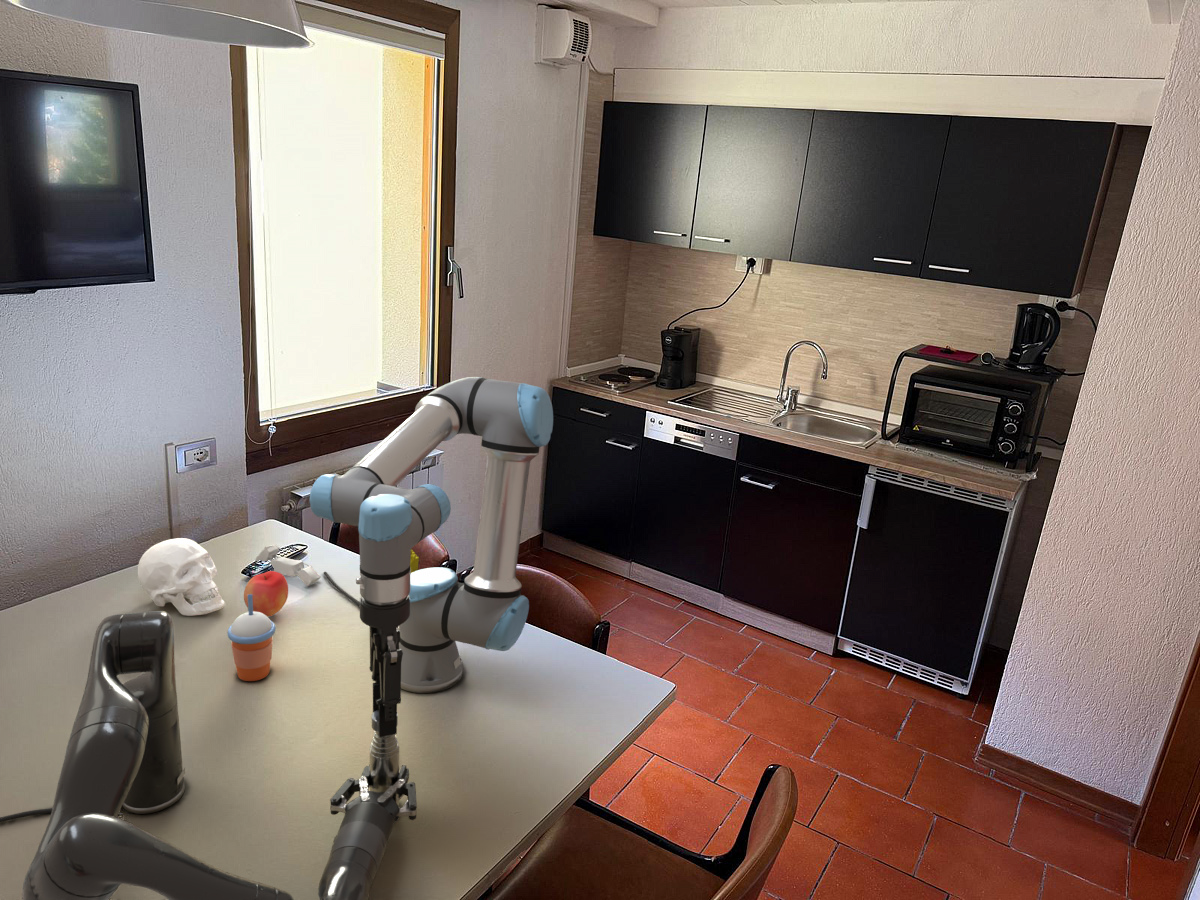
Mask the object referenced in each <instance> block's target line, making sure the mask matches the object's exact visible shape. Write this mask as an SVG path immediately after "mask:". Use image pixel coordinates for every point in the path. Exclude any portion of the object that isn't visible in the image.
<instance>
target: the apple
mask: <svg viewBox="0 0 1200 900" xmlns="http://www.w3.org/2000/svg"><path fill="white" fill-rule="evenodd" d="M249 594H252V598H253V611H255V612H260V613H263V614H265V615H266V616H267V617H268V618H269V617H273V616H275V615H276V614H278V613H279V612H280V611H281V610H282V609H283V607H284V606H285V605H286V603H287V600H288V597H289V584H288V581H287V579H286V577H285V575H282V574H281V573H278V572H275V571H268V570H267V571H266V572H264V573H259V574H255V575H254V576H253V577H251V578H250V579H249V580H248V582H247V583H246V585H245V587H244V590H243V601H244V604H245V607H247V608H248V595H249Z"/></svg>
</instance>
